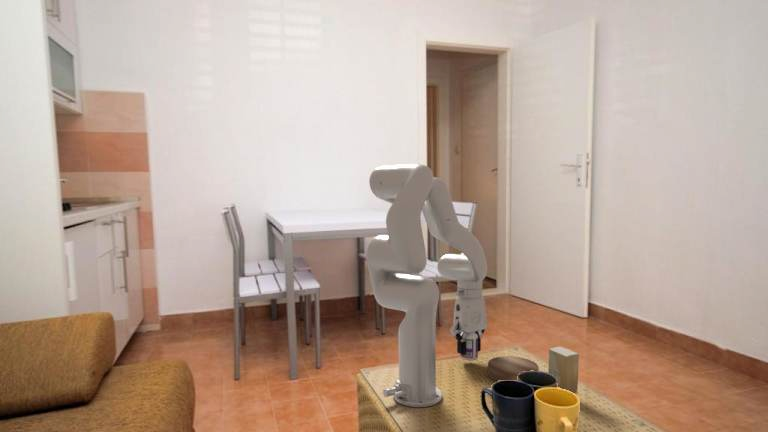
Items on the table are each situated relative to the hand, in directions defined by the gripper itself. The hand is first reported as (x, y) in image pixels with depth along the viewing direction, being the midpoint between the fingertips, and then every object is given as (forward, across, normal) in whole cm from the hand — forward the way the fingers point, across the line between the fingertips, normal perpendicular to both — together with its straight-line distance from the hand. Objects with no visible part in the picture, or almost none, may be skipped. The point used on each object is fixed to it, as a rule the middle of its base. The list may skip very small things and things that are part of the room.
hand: (468, 351), depth 143 cm
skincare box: (+4, +3, -31) cm, 31 cm away
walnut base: (+4, +4, -14) cm, 15 cm away
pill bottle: (+2, 0, 0) cm, 2 cm away
